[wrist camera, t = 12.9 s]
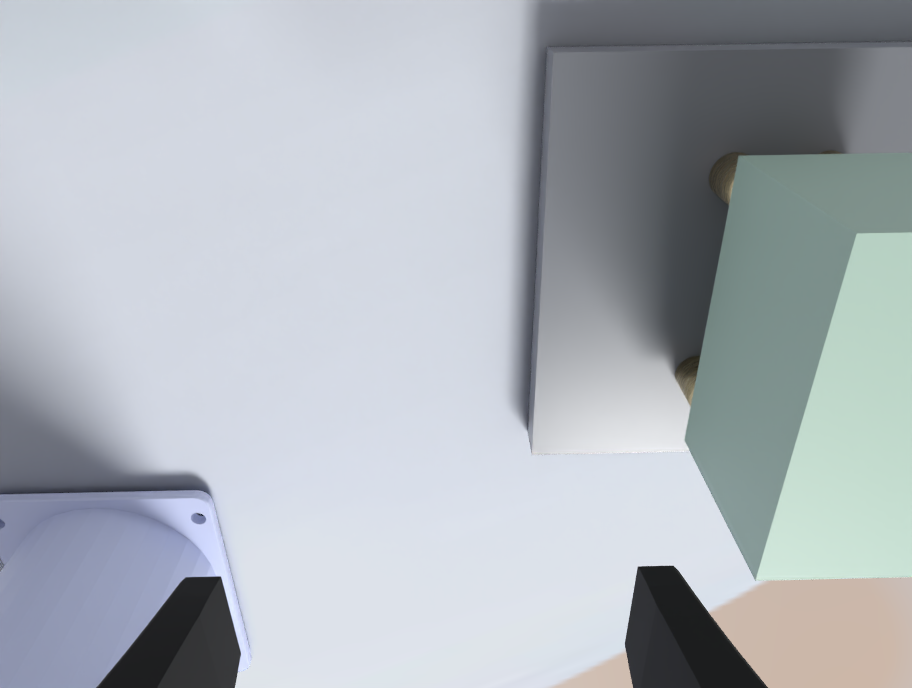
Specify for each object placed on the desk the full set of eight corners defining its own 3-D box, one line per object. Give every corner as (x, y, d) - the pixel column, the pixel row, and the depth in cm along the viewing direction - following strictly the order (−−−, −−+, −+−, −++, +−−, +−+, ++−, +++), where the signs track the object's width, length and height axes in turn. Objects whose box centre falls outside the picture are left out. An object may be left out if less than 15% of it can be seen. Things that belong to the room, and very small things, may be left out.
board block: (825, 437, 19) (936, 576, 15) (684, 440, 19) (755, 581, 15) (914, 152, 15) (1102, 228, 11) (739, 155, 15) (857, 233, 11)
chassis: (880, 424, 23) (940, 488, 20) (527, 432, 23) (539, 497, 20) (1020, 39, 17) (1132, 55, 14) (546, 46, 17) (567, 63, 14)
